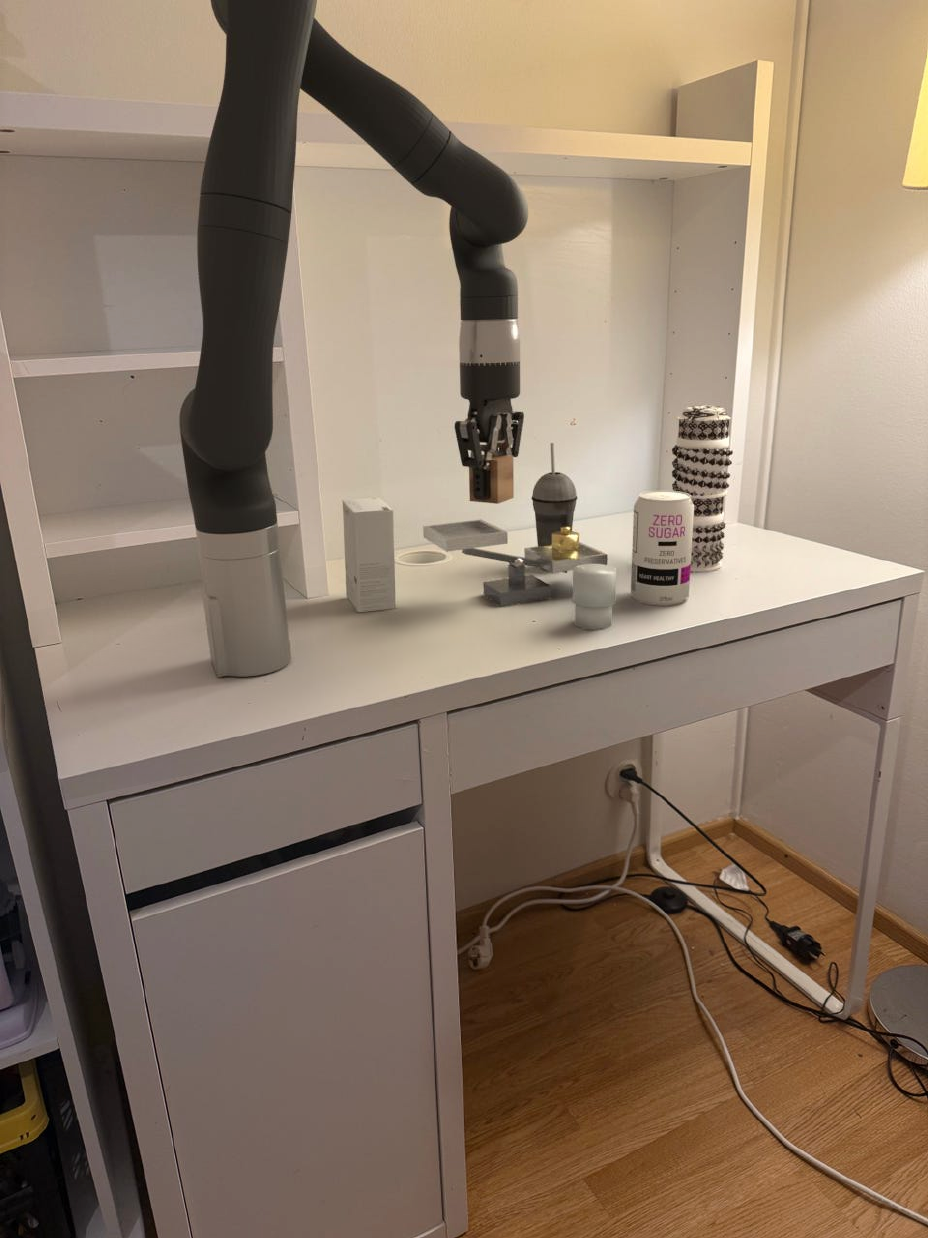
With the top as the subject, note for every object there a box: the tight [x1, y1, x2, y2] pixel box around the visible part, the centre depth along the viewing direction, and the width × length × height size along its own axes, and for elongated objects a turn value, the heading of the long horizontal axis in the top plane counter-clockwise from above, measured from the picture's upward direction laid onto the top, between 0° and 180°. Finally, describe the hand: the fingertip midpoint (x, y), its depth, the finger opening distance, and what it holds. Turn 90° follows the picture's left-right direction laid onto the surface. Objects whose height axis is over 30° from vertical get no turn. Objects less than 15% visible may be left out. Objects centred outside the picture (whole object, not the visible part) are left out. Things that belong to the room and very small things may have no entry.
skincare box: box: [341, 497, 397, 613], centre depth 126 cm, size 8×6×15 cm
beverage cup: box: [531, 442, 578, 573], centre depth 140 cm, size 7×7×20 cm
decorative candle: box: [671, 405, 734, 573], centre depth 138 cm, size 9×9×25 cm
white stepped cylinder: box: [572, 564, 617, 631], centre depth 116 cm, size 6×6×8 cm
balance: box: [422, 518, 609, 607], centre depth 127 cm, size 25×9×11 cm, turn 112°
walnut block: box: [468, 453, 515, 504], centre depth 114 cm, size 4×4×6 cm
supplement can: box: [630, 489, 694, 607], centre depth 124 cm, size 8×8×15 cm
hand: (491, 495), depth 114 cm, fingers closed on walnut block, 4 cm apart
